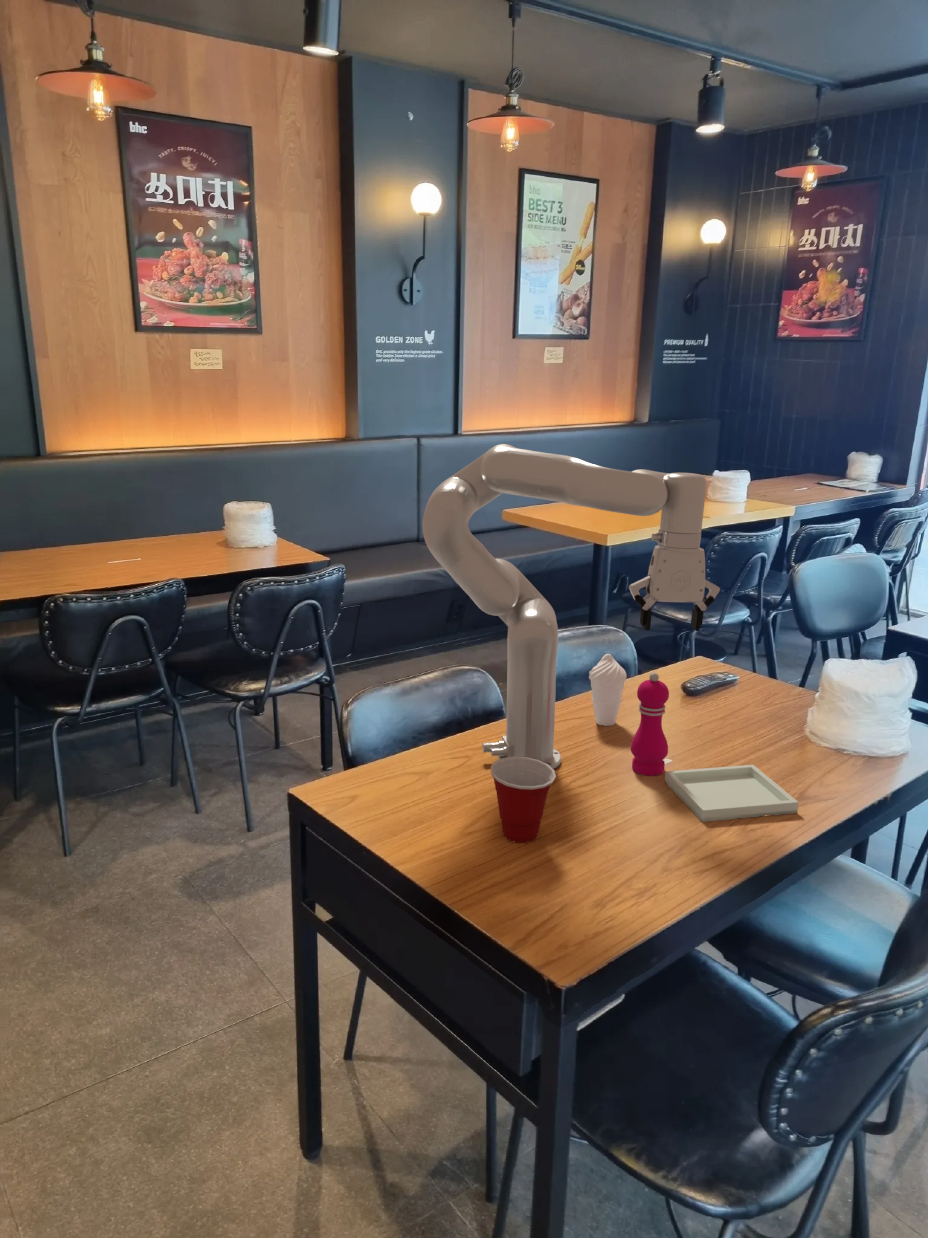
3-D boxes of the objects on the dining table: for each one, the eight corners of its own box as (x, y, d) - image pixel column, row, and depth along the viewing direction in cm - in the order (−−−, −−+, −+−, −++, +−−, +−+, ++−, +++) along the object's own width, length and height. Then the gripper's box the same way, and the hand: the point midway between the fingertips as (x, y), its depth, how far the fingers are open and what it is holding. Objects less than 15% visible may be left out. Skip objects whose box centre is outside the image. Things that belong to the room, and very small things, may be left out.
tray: (702, 822, 151) (703, 810, 151) (665, 782, 167) (665, 771, 166) (797, 813, 155) (798, 802, 154) (752, 775, 170) (753, 764, 169)
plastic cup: (535, 858, 139) (537, 789, 136) (477, 840, 145) (477, 773, 142) (564, 830, 148) (567, 765, 145) (508, 814, 154) (510, 750, 151)
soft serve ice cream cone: (626, 730, 192) (631, 660, 188) (588, 729, 192) (592, 660, 188) (620, 716, 200) (624, 649, 196) (584, 715, 200) (587, 648, 196)
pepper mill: (670, 777, 168) (677, 679, 163) (632, 777, 169) (638, 678, 163) (662, 762, 175) (669, 667, 170) (626, 761, 176) (632, 666, 170)
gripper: (639, 543, 158) (631, 634, 162) (732, 545, 159) (721, 635, 164) (628, 535, 165) (620, 623, 169) (717, 537, 167) (707, 624, 171)
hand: (670, 629), depth 167 cm, fingers open, 9 cm apart
